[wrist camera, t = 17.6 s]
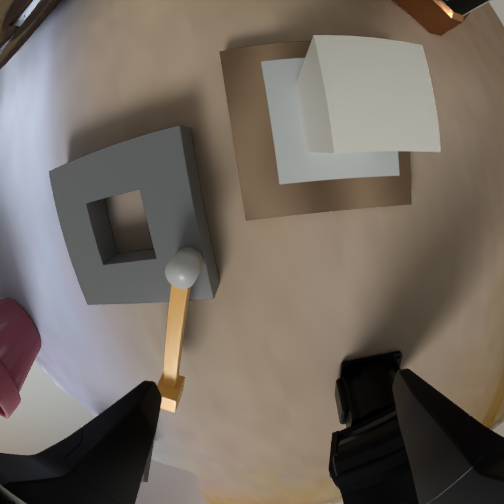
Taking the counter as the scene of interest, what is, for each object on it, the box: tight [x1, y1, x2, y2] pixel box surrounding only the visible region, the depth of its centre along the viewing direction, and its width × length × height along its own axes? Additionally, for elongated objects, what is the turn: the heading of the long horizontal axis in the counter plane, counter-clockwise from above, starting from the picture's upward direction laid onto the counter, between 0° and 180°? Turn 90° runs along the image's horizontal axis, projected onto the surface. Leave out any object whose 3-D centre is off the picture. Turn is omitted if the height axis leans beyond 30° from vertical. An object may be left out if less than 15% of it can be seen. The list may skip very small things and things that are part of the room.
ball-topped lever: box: [157, 247, 204, 413], centre depth 19 cm, size 14×2×3 cm, turn 166°
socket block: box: [49, 125, 220, 305], centre depth 19 cm, size 12×12×2 cm
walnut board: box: [220, 41, 411, 221], centre depth 16 cm, size 12×12×1 cm
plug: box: [261, 35, 441, 184], centre depth 11 cm, size 7×7×10 cm
